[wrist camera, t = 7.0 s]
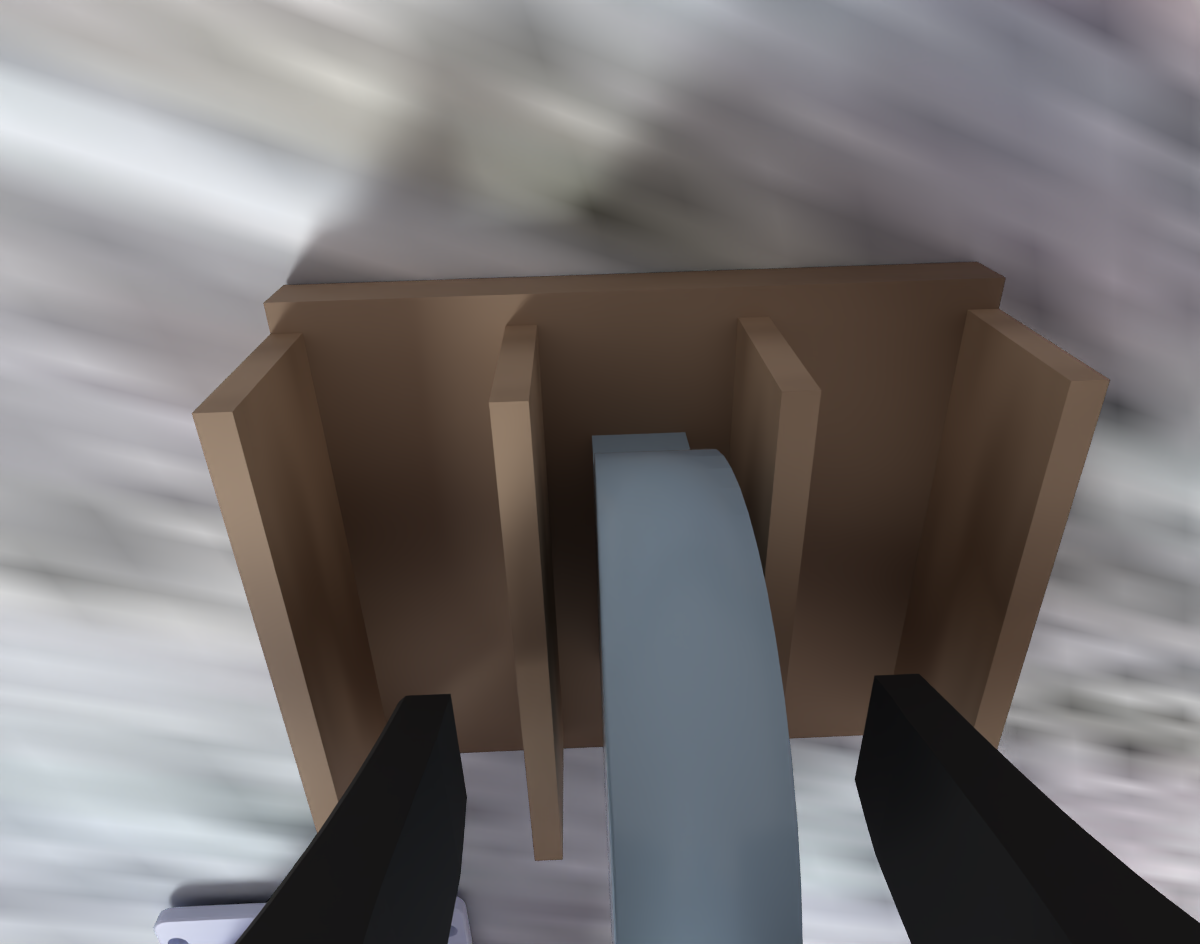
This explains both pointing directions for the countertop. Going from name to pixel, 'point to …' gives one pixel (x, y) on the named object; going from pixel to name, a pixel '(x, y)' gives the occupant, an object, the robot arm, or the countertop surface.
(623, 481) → the grey rounded disc
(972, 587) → the rack
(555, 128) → the countertop surface
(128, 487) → the countertop surface
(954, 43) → the countertop surface
